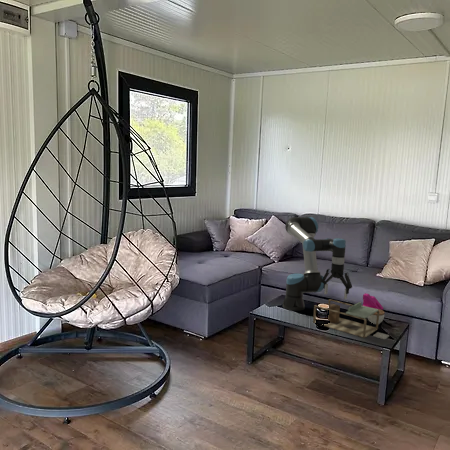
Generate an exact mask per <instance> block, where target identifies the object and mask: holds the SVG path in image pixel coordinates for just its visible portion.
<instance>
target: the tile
mask: <svg viewBox="0 0 450 450" xmlns="http://www.w3.org/2000/svg"><path fill="white" fill-rule="evenodd" d="M373 337H375V338H377V339H381V340H386V339H387V338H390V335H389V334H386V333H383V332H379V331H377V332H376V333H375V334H373Z"/></svg>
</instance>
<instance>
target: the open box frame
mask: <svg viewBox="0 0 450 450" xmlns="http://www.w3.org/2000/svg"><path fill="white" fill-rule="evenodd" d="M331 302H335V303H339V304H342V305H345V306H349V307H351V306H353V305H354V304H352V303H347V302H342V301H338V300H336V299H335V300H334V299H331V298H328V302H327V303H328V304H327V306H328V305H331ZM317 308H318V309H322V310H326V311H328V310H329V311H333V312H336V313H340V314H341V315H344V316H349V317H352V318H356V319H359V320H363V323H360V322H357V321H353V320H350V319H346V318H342V317H339V322H337V323H332V322H330V323H328V324H324V326H323V327H326V328H330V329H333V330H336V331H340V332H343V333H346V334H350V335H354V336H356V337H360V338H364V339H366V338H367V337H368V336H370V335H372V334H373V333H374V332H376V331H377V330H379V324H378V322H379V311H377V320H376V324H375V326H372V325H367V323H368V322H367V321H368V318H365V319H364V318H361V317H357V316H353V315H349V314H346V312H342V311H340V312H339V311H335V310H331V309H328V307H322V306H319V305H316V304H315V305H313V316H312V317H313V320H312V323H313V324H315V323H316V317H317V315H316V314H317ZM340 314H339V315H340ZM322 325H323V324H322ZM322 325H321V326H322Z"/></svg>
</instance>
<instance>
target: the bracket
mask: <svg viewBox="0 0 450 450" xmlns="http://www.w3.org/2000/svg"><path fill="white" fill-rule="evenodd" d="M362 300H363V301H362V304H361V305H362V306H366V307H370V308H374V309H375V308H377V309H380V310H384V307H383V305H382V304H381V303H380V302H379V301H378V299H377V298H376V297H375V296H374V295H373V296H372V295H370V293H367V292H366V293H365V292H364V294H363V295H362Z"/></svg>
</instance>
